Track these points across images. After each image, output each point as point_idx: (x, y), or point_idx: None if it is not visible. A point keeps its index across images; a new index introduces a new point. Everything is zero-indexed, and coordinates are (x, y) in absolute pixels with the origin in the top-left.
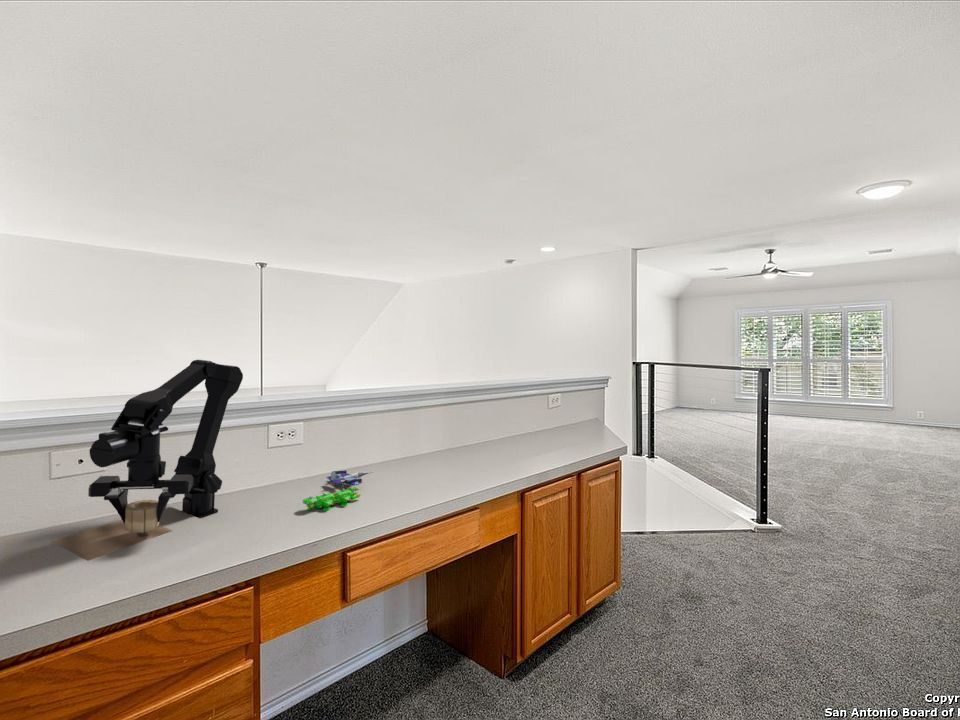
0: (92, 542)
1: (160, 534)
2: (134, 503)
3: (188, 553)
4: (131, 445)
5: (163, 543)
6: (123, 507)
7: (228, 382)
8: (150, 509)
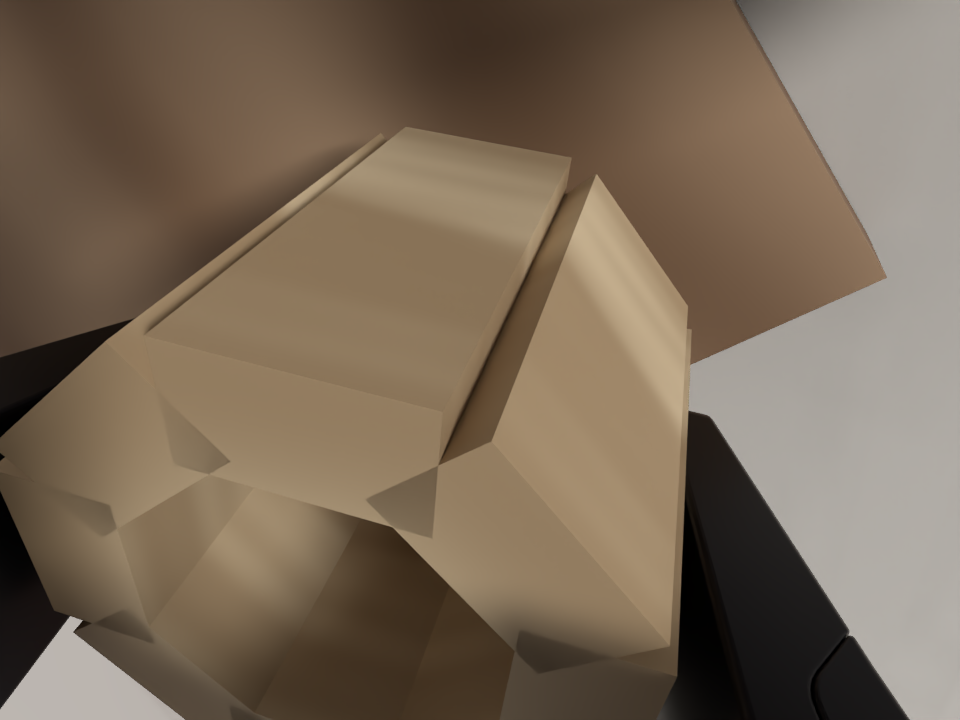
0: (97, 297)
1: (710, 339)
2: (94, 496)
3: (942, 632)
4: None
5: (741, 369)
6: (25, 613)
7: None
8: None
